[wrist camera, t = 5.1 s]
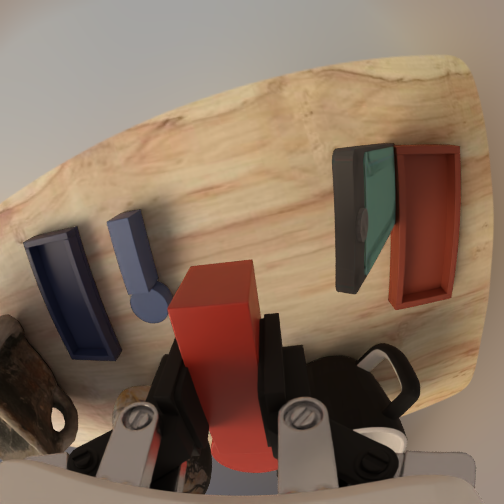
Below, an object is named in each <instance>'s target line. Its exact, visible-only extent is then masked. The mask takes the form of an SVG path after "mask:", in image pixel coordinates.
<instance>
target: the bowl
mask: <svg viewBox="0 0 504 504" xmlns="http://www.w3.org/2000/svg"><path fill="white" fill-rule="evenodd" d="M52 408H57V409H58V410H59V411H61V413H62V414H63V416H64V420H65V426H64V428H63V429H62V430H61V431H60V432H58V431H55V430H54V429H53V426H52V422H51V414H52ZM77 430H78V414H77V409H76V408H75V406H74V404H73V402H72V400H71V399H70V398H69V396H68V395H67V394H66V393H65V392H64V391H63V390H62V389H61V388H59V387H58V386H57V384H56V380H55V378H54V376H53V374H52V372H51V370H50V369H49V367H48V366H47V364H46V363H45V362H44V361H43V359H42V358H41V356H40V355H39V354H38V353H37V352H36V351H35V350H34V349H33V348H32V347H31V346H30V345H29V343H28V342H27V340H26V338H25V336H24V331H23V329H22V327H21V325H20V323H19V322H18V321H17V320H16V319H15V318H14V317H12V316H10V315H3V316H1V317H0V459H1V460H3V461H7V460H20V459H22V460H23V459H24V458H26V457H28V456H33V455H45V454H55V453H64V451H65V450H66V449H67V448H68V447H69V446H70V445H71V444H72V443H73V442H74V440H75V437H76V434H77Z"/></svg>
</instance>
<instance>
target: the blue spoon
mask: <svg viewBox="0 0 504 504" xmlns="http://www.w3.org/2000/svg"><path fill="white" fill-rule="evenodd" d="M107 226H108V229H109V233H110V237H111V240H112V244H113V247H114V251H115V254H116V258H117V261H118V264H119V267H120V271H121V274H122V277H123V280H124V283H125V286H126V289H127V292H128V295H131V294H132V296H131V299H130V304H131V308H132V310H133V312H134V313H135V314H136V316H137V317H139V318H140V319H141V320H143V321H145V322H148V323H159V322H161V321H163V320H164V319H165V318H166V317H167V315H168V310H167V308H168V306H169V305H170V303H171V301H172V299H173V297H172V294H171V292H170V290H169V289H168V288H167V286H165V285H164V284H163V283H161V282H159V281H157V280H158V275H157V271H156V267H155V264H154V260H153V257H152V253H151V249H150V245H149V241H148V238H147V234H146V230H145V226H144V221H143V217H142V213H141V209H139V210H134V211H129V212H124V213H120V214H119V215H117V216H115V217H114V218H112V219H111V220H109V221H107Z"/></svg>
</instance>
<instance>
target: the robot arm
mask: <svg viewBox="0 0 504 504" xmlns="http://www.w3.org/2000/svg"><path fill="white" fill-rule="evenodd" d="M257 391H258V401H259V406H260V411H261V416H262V421H263V426H264V431H265V435H266V440H267V445H268V447H271V448H272V453H273V457H274V458H275V459H277V460H278V495H263V496H261V495H260V496H223V495H221V496H219V495H202V494H189V493H183V487H184V480H185V474H186V468H187V460H188V459H190V458H191V456H200V454H201V448H206V445H207V439H208V433H209V424H208V422H207V419H206V416H205V414H204V411H203V408H202V406H201V403H200V400H199V398H198V395H197V392H196V389H195V387H194V384H193V381H192V378H191V375H190V372H189V369H188V367H185V364H184V361H183V358H182V355H181V352H180V349H179V346H178V343H177V340H176V337H175V339H174V342H173V345H172V347H171V350H170V352H169V354H165V355H164V356H163V357H162V360H161V362H160V365H159V367H158V370H157V372H156V375H155V377H154V380H153V383H152V385H151V388H150V390H149V393H148V396H147V398H146V401H145V402H143V401H142V402H135V403H132V404H130V405H128V406H126V407H125V408H124V409H123V410H122V411H121V412H120V414H119V416H118V418H117V421H116V423H115V426H114V428H113V430H111V431H109V432H107V433H105V434H103V435H101V436H99V437H97V438H95V439H93V440H91V441H89V442H88V443H86V444H84V445H82V446H80V447H78V448H76V449H75V450H73V451H72V453H71V454H70V455H69V454H68V453H67V452H64V453H55V454H45V455H33V456H28V457H26V458H24V459H23V460H22V459H20V460H7V461H3V462H1V463H0V504H484V503H483V501H482V499H481V497H480V496H479V494H478V493H477V491H476V490H475V477H476V465H475V461H474V459H473V458H472V457H471V456H470V455H468V454H467V453H463V452H421V451H406V453H395V452H394V450H392V449H391V448H389V447H388V446H386V445H383V444H381V443H379V442H377V441H375V440H372V439H370V438H368V437H366V436H364V435H362V434H360V433H358V432H356V431H354V430H352V429H350V428H348V427H346V426H344V425H342V424H340V423H338V422H336V421H334V420H332V419H330V418H329V416H328V411H327V408H326V406H325V405H324V404H323V403H322V402H321V401H319V400H317V399H315V398H311V392H310V386H309V380H308V373H307V367H306V361H305V355H304V349H303V345H295V346H287V347H282V339H281V329H280V320H279V313H273V314H264V318H262V319H260V322H259V363H258V382H257Z"/></svg>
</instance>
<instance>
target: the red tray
mask: <svg viewBox="0 0 504 504" xmlns="http://www.w3.org/2000/svg"><path fill="white" fill-rule="evenodd" d="M393 147H394V160H395V188H396V218H395V225H394V227H393V229H392V231H391V257H390V282H389V298H388V300H389V302H390V303H391V304H392V306H393V307H394V309H395V310H399V309H404V308H409V307H414V306H418V305H423V304H427V303H432V302H436V301H440V300H445V299H449V298H451V296H452V290H453V284H454V277H455V269H456V261H457V252H458V241H459V227H460V206H461V165H460V146H455V145H438V144H430V145H394V146H393Z"/></svg>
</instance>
